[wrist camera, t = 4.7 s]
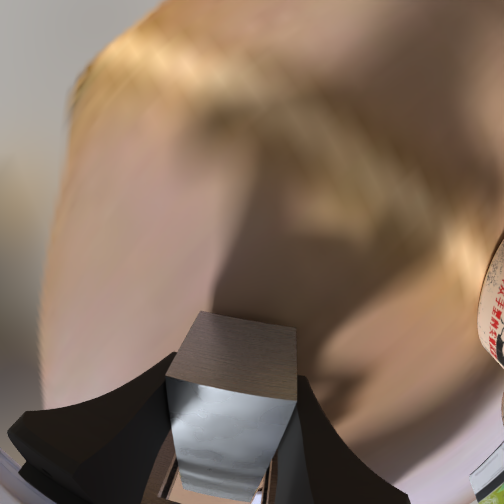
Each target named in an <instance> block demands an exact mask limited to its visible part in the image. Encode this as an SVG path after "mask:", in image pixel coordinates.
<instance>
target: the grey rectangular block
mask: <svg viewBox="0 0 504 504" xmlns="http://www.w3.org/2000/svg"><path fill="white" fill-rule="evenodd" d="M165 380H166V390H167V398H168V406H169V414H170V421H171V427H172V434H173V440H174V445H175V451H176V456H177V462H178V467H179V474H180V478H181V481H182V485H183V489H186V490H190V491H194V492H198V493H202V494H206V495H211V496H216V497H221V498H226V499H232V500H238V501H245V502H250V501H251V499H252V497H253V496H254V494H255V493H256V491H257V489H258V486H259V484H260V482H261V480H262V478H263V476H264V474H265V472H266V470H267V468H268V466H269V464H270V462H271V460H272V458H273V456H274V454H275V451H276V449H277V447H278V445H279V443H280V440H281V438H282V436H283V434H284V431H285V429H286V427H287V424H288V422H289V420H290V417H291V415H292V412H293V410H294V407H295V405H296V402H297V346H296V328H294V327H288V326H281V325H275V324H268V323H262V322H257V321H251V320H245V319H240V318H234V317H229V316H224V315H219V314H214V313H209V312H204V311H200V312H199V314H198V316H197V318H196V320H195V321H194V323H193V325H192V327H191V329H190V330H189V332H188V334H187V336H186V338H185V339H184V341H183V343H182V345H181V347H180V349H179V350H178V352H177V354H176V356H175V358H174V359H173V361H172V363H171V365H170V367H169V369H168V371H167V372H166V374H165Z"/></svg>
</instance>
